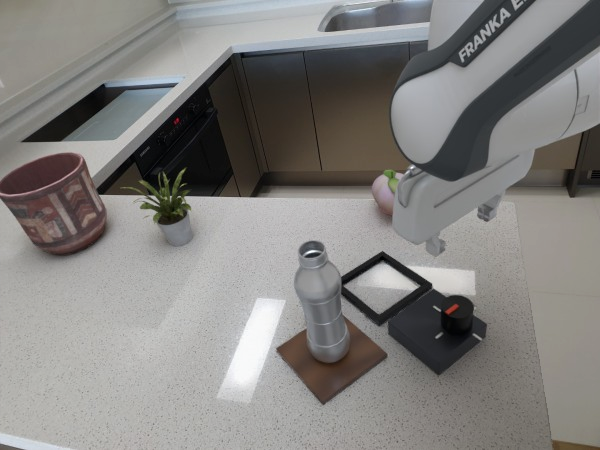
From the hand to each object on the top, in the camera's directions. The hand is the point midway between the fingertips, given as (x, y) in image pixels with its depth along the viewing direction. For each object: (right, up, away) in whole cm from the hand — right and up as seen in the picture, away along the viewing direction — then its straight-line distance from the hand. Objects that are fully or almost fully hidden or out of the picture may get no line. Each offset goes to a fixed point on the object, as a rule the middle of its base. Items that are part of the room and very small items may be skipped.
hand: (461, 234), depth 57 cm
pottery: (-72, -2, +49) cm, 87 cm away
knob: (+3, -13, +9) cm, 16 cm away
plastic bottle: (-16, -18, +12) cm, 27 cm away
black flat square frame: (-6, -10, +22) cm, 24 cm away
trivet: (-16, -18, +12) cm, 27 cm away
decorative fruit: (0, +4, +38) cm, 38 cm away
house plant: (-47, -2, +42) cm, 64 cm away
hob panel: (0, -15, +12) cm, 20 cm away
